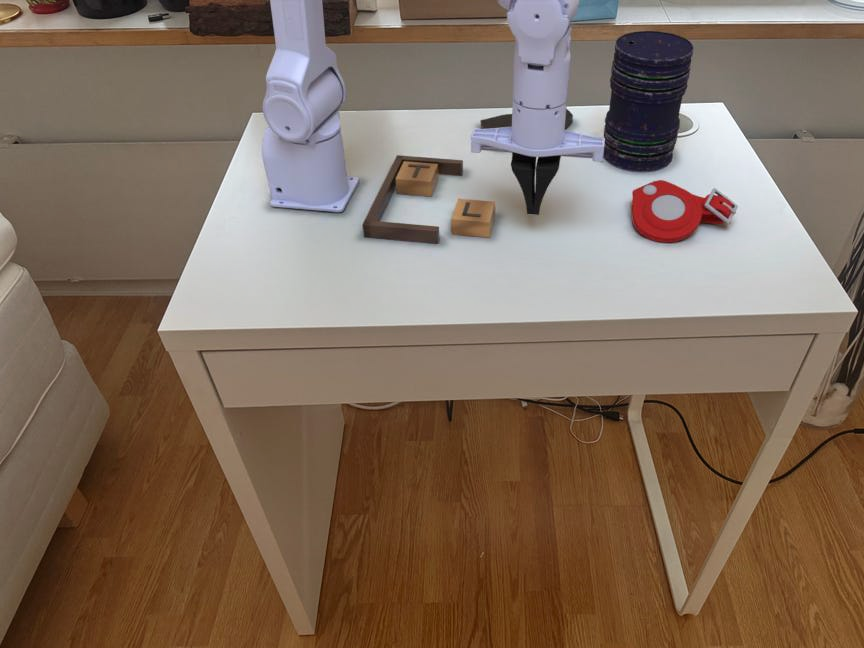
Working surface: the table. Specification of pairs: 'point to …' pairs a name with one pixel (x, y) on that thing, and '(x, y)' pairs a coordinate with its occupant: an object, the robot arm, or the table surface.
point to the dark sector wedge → (507, 121)
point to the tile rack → (372, 220)
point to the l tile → (473, 218)
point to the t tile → (417, 178)
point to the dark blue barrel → (646, 99)
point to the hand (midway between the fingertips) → (533, 210)
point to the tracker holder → (676, 211)
